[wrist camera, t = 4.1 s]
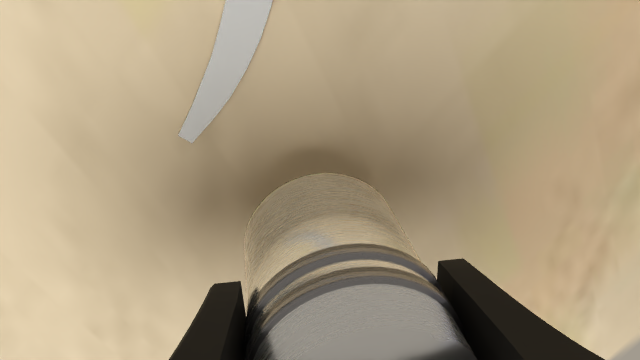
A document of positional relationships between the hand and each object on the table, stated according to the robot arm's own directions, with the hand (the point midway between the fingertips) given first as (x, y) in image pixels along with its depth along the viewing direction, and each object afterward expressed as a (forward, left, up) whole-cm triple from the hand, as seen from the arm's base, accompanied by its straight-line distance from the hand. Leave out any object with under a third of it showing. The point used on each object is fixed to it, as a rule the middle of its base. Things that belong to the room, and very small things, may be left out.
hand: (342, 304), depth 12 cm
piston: (0, 0, -3) cm, 3 cm away
